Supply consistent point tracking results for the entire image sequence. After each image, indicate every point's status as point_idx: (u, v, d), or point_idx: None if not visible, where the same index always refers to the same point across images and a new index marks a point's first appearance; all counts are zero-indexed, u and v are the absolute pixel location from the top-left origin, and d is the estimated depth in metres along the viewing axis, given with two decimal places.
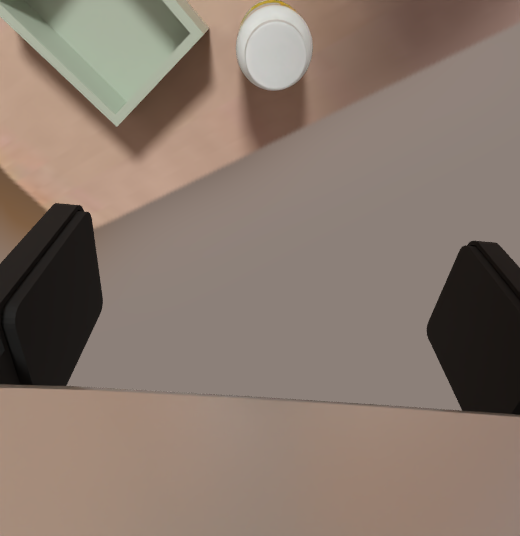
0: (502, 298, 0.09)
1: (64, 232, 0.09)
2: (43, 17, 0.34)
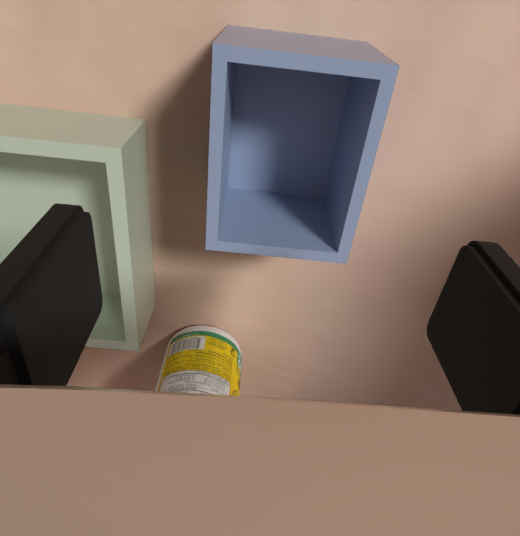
0: (502, 298, 0.09)
1: (64, 232, 0.09)
2: None
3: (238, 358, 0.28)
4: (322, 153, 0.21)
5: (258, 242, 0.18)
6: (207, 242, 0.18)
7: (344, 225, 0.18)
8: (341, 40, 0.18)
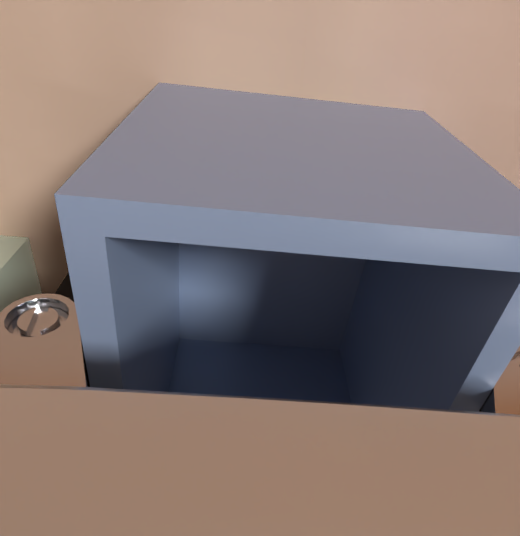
0: None
1: None
2: None
3: None
4: (338, 291, 0.12)
5: None
6: None
7: None
8: (381, 115, 0.09)
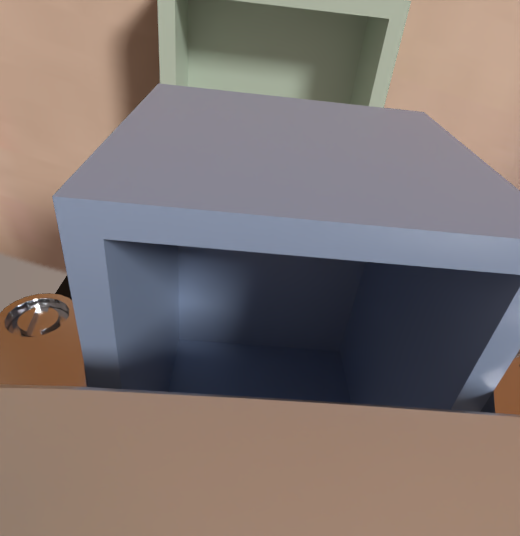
0: None
1: None
2: (190, 39, 0.21)
3: None
4: (338, 292, 0.12)
5: None
6: None
7: None
8: (381, 116, 0.09)
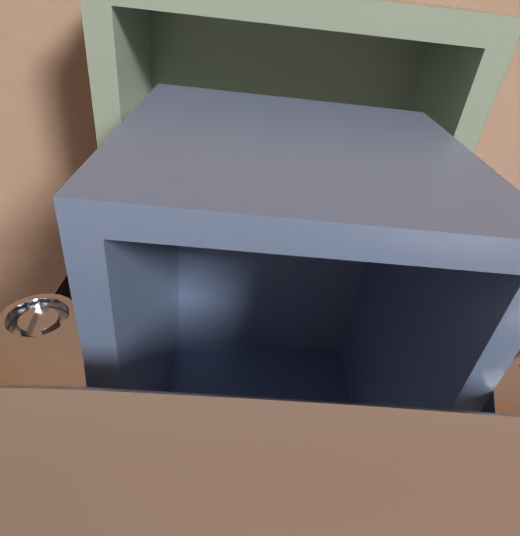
0: None
1: None
2: (155, 71, 0.14)
3: None
4: (338, 292, 0.12)
5: None
6: None
7: None
8: (380, 116, 0.09)
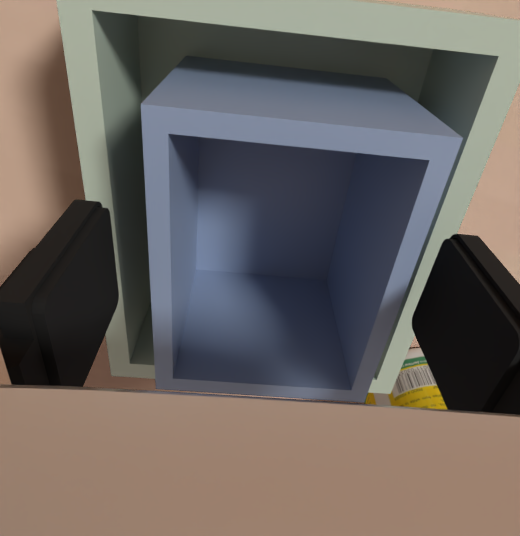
0: (480, 288, 0.09)
1: (86, 227, 0.09)
2: (144, 79, 0.13)
3: None
4: (324, 226, 0.16)
5: (234, 376, 0.12)
6: (158, 380, 0.12)
7: (362, 357, 0.12)
8: (352, 78, 0.12)
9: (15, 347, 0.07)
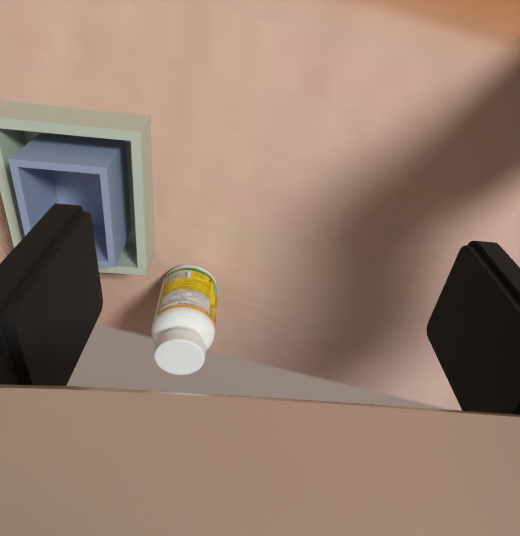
0: (502, 298, 0.09)
1: (64, 232, 0.09)
2: (27, 140, 0.33)
3: (214, 287, 0.40)
4: None
5: None
6: None
7: (107, 246, 0.31)
8: (106, 141, 0.32)
9: None
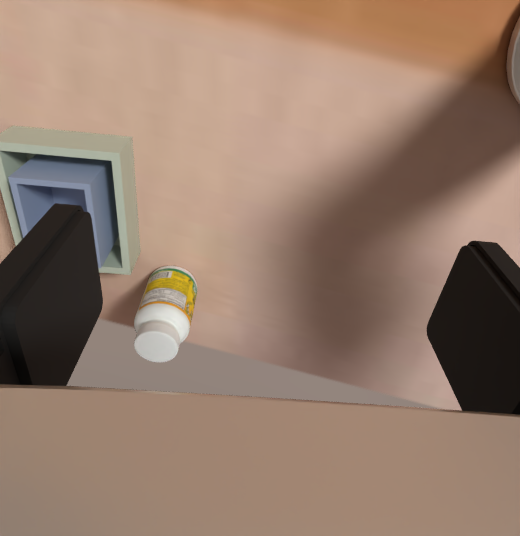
0: (502, 298, 0.09)
1: (64, 232, 0.09)
2: (27, 158, 0.38)
3: (193, 286, 0.45)
4: None
5: None
6: None
7: None
8: (94, 159, 0.37)
9: None
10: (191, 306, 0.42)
